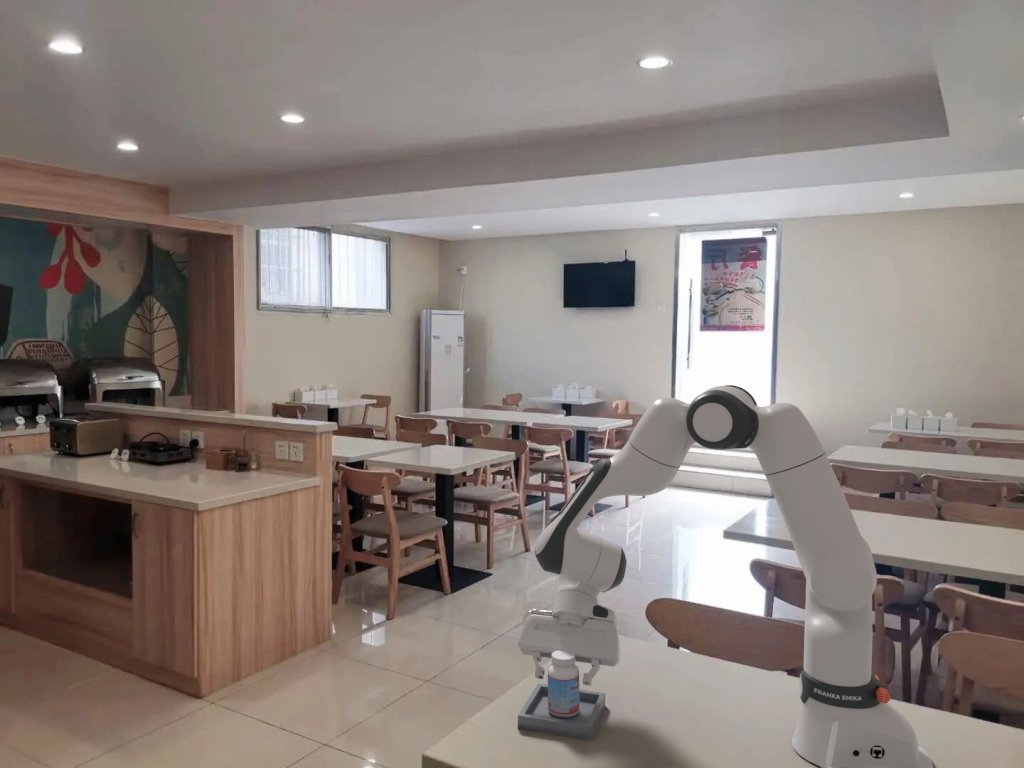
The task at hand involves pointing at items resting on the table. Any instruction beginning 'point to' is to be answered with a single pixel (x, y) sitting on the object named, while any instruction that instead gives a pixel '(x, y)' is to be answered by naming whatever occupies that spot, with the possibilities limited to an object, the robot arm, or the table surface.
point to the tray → (577, 726)
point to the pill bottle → (563, 685)
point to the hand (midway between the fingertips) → (562, 681)
